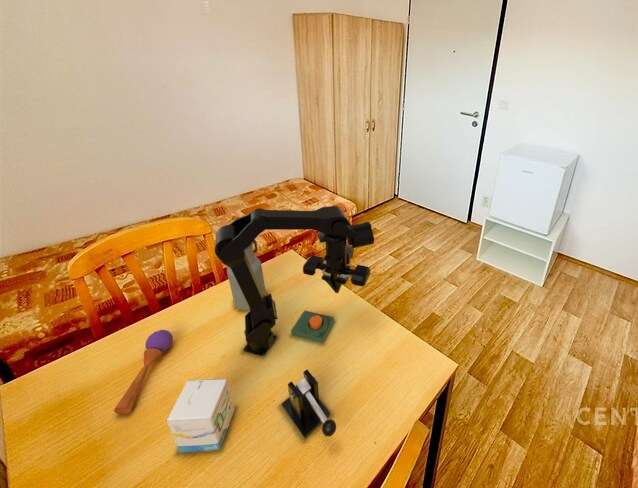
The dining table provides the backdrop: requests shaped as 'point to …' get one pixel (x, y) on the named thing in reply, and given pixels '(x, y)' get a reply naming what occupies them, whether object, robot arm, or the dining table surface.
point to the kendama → (145, 368)
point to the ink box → (201, 415)
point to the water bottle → (257, 269)
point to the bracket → (304, 407)
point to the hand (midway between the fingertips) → (337, 292)
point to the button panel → (306, 332)
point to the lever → (316, 408)
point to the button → (315, 322)
